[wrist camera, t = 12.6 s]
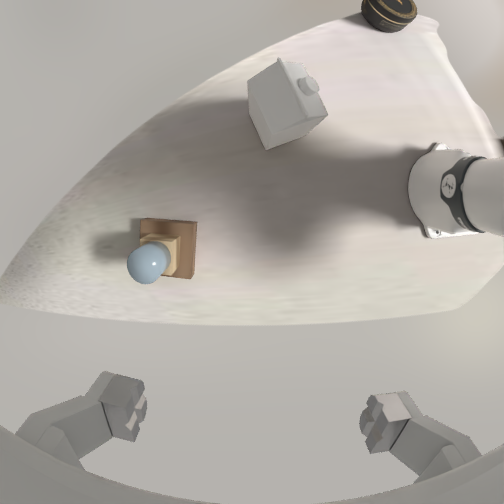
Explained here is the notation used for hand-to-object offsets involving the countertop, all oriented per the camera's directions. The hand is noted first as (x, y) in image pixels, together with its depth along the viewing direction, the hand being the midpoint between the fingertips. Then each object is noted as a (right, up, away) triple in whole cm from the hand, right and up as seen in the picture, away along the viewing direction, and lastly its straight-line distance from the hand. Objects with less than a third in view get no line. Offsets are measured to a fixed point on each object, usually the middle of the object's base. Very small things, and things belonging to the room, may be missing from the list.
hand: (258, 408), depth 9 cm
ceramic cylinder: (-14, +5, +31) cm, 34 cm away
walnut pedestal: (-14, +6, +39) cm, 42 cm away
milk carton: (+4, +26, +34) cm, 43 cm away
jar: (+26, +53, +28) cm, 65 cm away
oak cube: (-14, +6, +36) cm, 39 cm away
